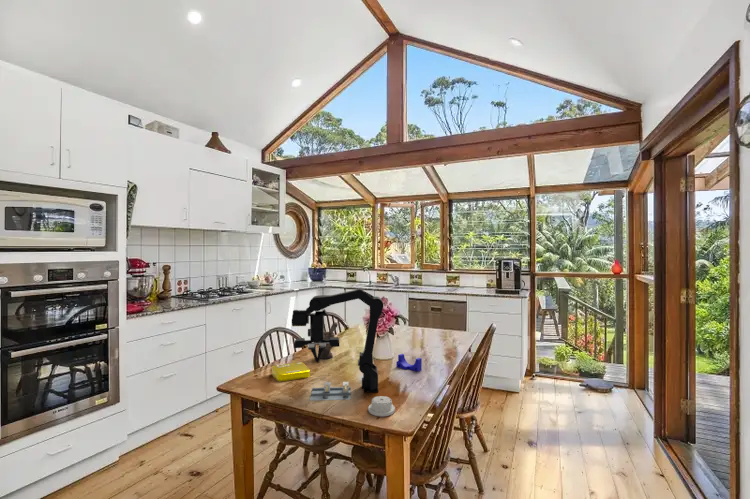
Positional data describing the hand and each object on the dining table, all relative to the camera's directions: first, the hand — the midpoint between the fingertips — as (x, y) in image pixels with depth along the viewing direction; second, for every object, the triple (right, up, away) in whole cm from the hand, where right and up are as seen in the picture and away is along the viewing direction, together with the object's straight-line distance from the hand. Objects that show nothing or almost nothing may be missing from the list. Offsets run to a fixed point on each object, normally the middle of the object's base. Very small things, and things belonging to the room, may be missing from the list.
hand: (317, 362), depth 160 cm
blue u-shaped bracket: (+41, -12, +28) cm, 51 cm away
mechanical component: (+27, -13, -19) cm, 35 cm away
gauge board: (+6, -12, -6) cm, 15 cm away
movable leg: (+5, -11, -7) cm, 14 cm away
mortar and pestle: (-1, -11, +46) cm, 47 cm away
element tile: (-15, -12, +17) cm, 25 cm away
